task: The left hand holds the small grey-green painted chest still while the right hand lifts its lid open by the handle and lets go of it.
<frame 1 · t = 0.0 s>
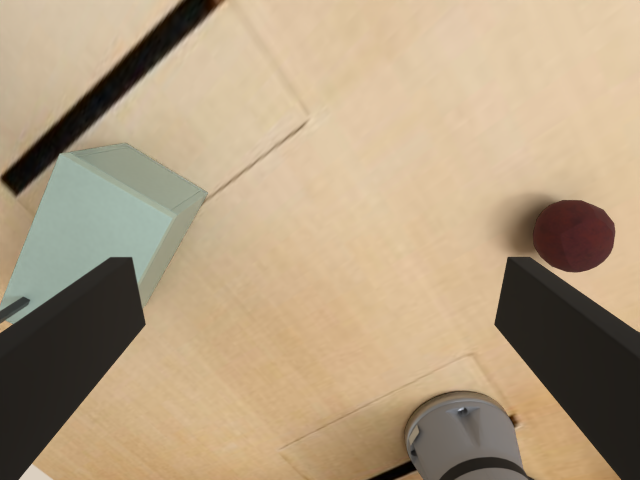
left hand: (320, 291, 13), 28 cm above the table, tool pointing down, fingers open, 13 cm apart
lid: (54, 286, 29), point 13 cm above the table, hinge at 0.0°
chest: (136, 230, 41), on the table
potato: (550, 224, 41), on the table
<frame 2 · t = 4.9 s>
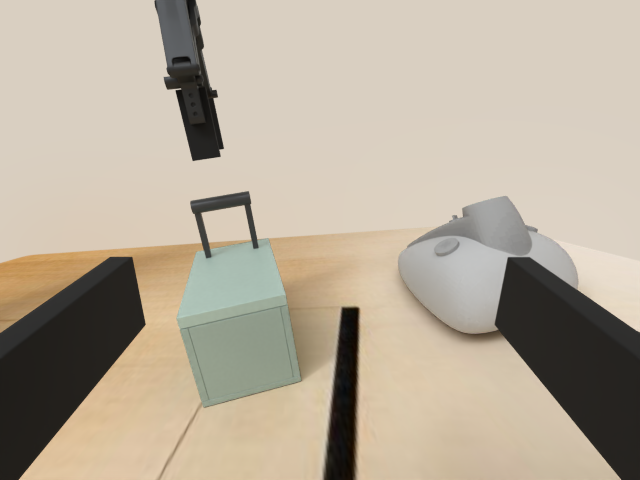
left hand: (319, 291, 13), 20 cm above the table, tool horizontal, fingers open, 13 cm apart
projector: (460, 295, 48), on the table
lid: (226, 243, 40), point 13 cm above the table, hinge at 0.0°
chest: (249, 344, 44), on the table
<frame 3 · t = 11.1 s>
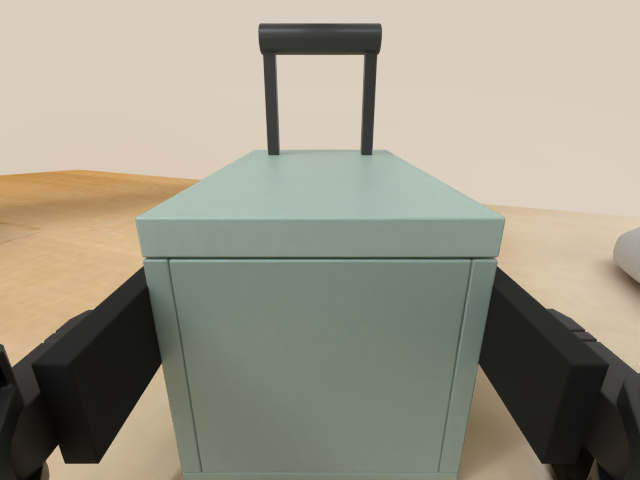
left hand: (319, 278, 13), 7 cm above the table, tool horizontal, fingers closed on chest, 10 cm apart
lid: (320, 100, 17), point 13 cm above the table, hinge at 0.0°
chest: (320, 341, 21), on the table, touching left hand
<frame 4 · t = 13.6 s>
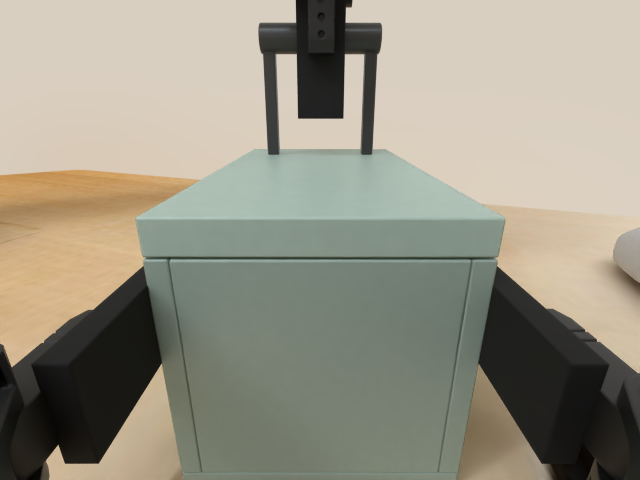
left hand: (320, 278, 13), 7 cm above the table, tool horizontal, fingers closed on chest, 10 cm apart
lid: (320, 99, 17), point 13 cm above the table, hinge at 0.1°, touching right hand
chest: (320, 341, 21), on the table, touching left hand
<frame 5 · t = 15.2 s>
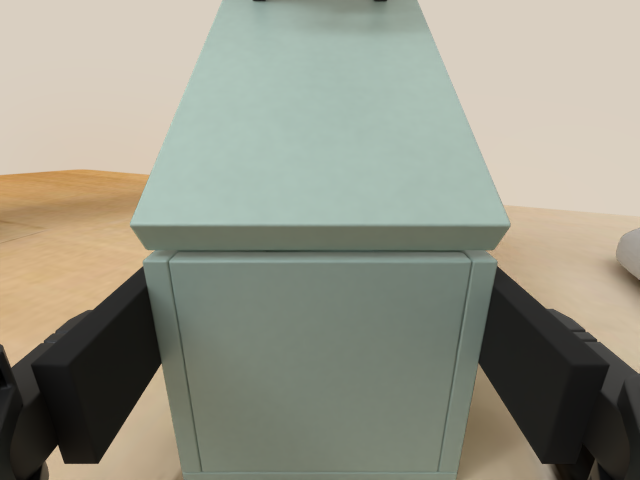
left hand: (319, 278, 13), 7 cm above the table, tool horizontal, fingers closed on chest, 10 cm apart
chest: (319, 340, 21), on the table, touching left hand
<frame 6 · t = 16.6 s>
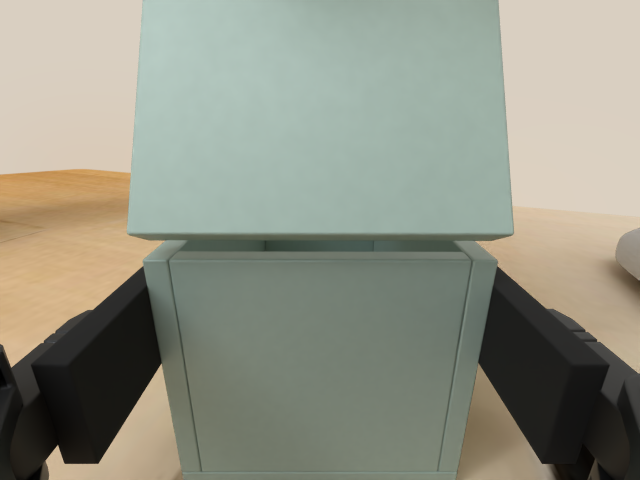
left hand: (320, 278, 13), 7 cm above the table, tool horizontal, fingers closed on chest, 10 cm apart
chest: (319, 340, 21), on the table, touching left hand
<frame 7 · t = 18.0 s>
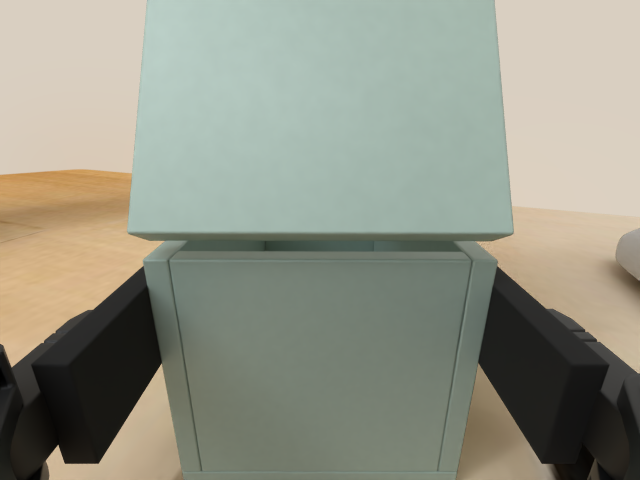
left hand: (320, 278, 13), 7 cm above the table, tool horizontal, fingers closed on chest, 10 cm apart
chest: (319, 340, 21), on the table, touching left hand
when the left hand's fingers open (7 cm above the table, at t = 20.5 s): chest stays where it is, on the table.
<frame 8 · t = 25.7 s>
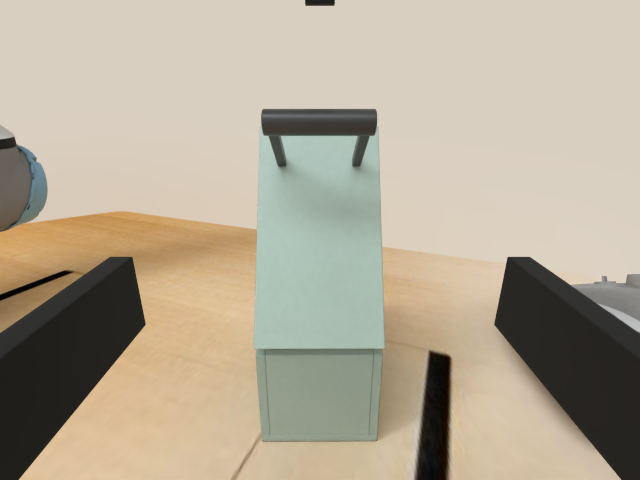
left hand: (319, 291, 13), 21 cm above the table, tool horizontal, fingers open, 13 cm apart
projector: (586, 375, 38), on the table
lid: (319, 223, 25), point 19 cm above the table, hinge at 60.8°
chest: (319, 371, 39), on the table
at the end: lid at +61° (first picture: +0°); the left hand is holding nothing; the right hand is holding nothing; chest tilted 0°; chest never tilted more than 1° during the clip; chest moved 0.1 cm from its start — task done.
